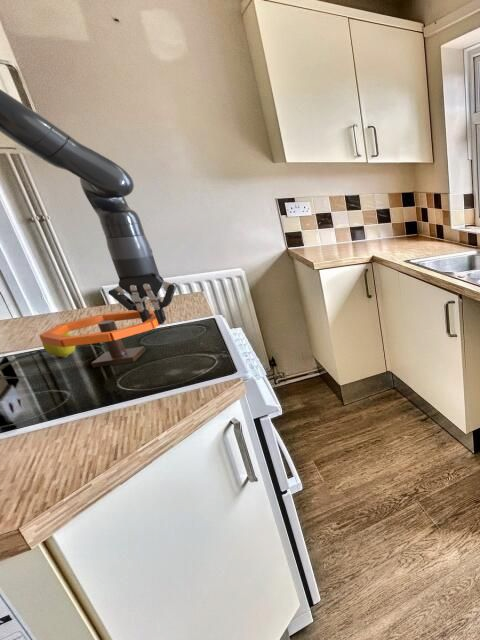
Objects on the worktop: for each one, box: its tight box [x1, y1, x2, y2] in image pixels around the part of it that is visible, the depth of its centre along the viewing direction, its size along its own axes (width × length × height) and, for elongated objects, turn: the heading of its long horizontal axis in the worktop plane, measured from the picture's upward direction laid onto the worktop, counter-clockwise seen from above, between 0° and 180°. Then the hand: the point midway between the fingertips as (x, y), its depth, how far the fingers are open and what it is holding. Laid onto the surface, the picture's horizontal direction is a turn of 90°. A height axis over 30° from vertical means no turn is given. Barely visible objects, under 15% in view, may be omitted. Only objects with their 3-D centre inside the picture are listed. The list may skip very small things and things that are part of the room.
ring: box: [39, 310, 160, 347], centre depth 102 cm, size 21×21×2 cm
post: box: [90, 320, 146, 369], centre depth 104 cm, size 8×8×10 cm
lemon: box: [42, 332, 76, 359], centre depth 106 cm, size 6×6×8 cm
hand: (155, 324), depth 106 cm, fingers closed on ring, 2 cm apart
